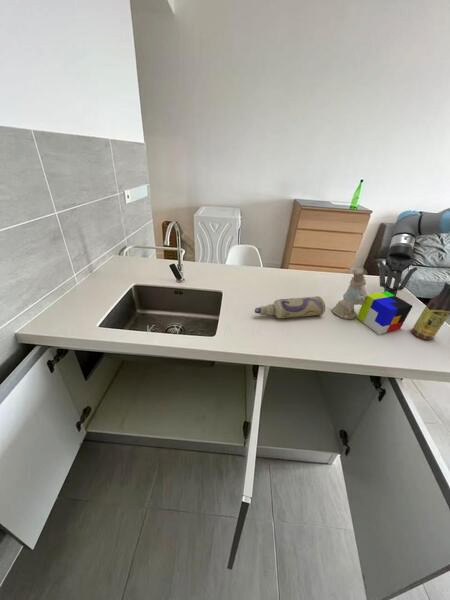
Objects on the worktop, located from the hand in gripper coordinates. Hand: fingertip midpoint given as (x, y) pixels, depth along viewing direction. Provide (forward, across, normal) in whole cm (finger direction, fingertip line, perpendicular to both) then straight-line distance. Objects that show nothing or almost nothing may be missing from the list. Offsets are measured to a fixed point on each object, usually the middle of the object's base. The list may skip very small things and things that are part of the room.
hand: (387, 305), depth 90 cm
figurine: (+8, -13, 0) cm, 15 cm away
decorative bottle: (+15, -32, -8) cm, 36 cm away
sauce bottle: (+8, +12, 0) cm, 14 cm away
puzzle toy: (+8, -2, -1) cm, 8 cm away
